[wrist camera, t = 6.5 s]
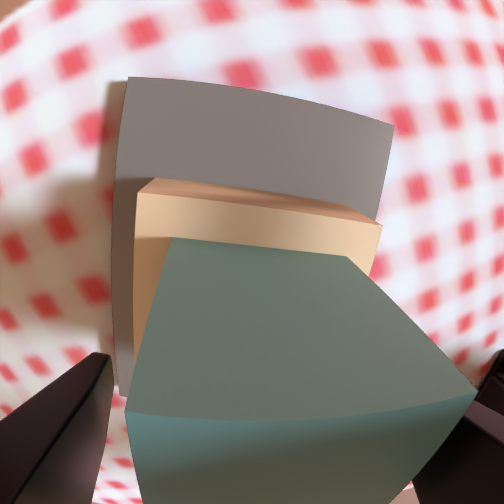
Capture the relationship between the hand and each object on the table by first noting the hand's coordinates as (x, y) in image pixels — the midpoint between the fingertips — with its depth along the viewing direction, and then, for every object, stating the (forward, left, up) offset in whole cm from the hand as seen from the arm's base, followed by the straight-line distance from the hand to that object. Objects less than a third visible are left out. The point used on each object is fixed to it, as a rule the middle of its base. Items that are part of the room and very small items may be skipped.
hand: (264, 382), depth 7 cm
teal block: (0, 0, -3) cm, 3 cm away
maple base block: (0, 0, -6) cm, 6 cm away
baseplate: (0, 0, -6) cm, 6 cm away
